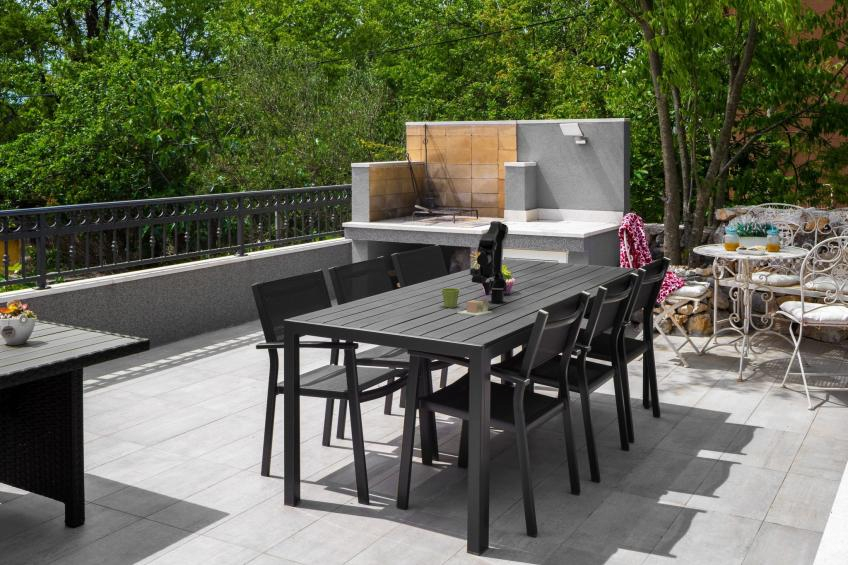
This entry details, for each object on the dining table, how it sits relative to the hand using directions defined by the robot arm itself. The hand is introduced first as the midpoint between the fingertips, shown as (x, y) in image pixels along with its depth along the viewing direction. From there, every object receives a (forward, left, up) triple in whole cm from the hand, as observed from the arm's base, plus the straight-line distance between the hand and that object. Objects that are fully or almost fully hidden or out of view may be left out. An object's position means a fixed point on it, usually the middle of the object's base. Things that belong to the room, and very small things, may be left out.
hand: (487, 295), depth 457 cm
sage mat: (+11, 0, -7) cm, 13 cm away
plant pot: (+5, -19, -7) cm, 21 cm away
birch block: (+4, 0, -4) cm, 5 cm away
